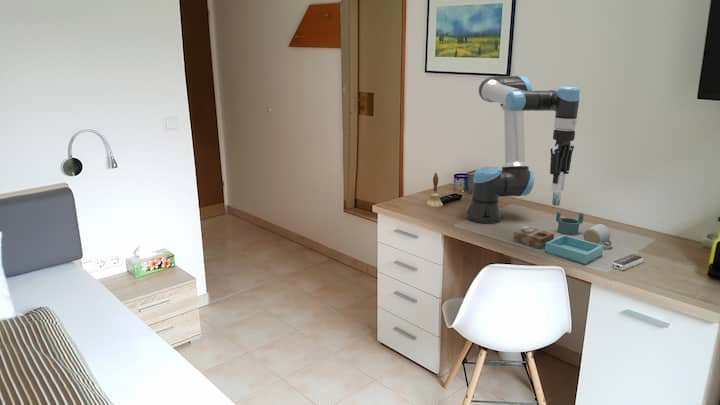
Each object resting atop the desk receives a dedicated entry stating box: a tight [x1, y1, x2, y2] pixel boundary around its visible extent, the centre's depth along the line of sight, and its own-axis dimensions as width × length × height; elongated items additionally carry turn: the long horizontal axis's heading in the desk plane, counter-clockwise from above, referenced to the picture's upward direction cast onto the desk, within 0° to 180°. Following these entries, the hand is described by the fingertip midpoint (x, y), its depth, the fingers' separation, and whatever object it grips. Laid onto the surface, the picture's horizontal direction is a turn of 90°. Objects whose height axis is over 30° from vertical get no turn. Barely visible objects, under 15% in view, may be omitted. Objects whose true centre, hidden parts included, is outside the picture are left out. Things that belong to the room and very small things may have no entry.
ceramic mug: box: [582, 223, 614, 250], centre depth 214 cm, size 11×8×8 cm
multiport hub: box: [610, 253, 644, 271], centre depth 196 cm, size 4×14×2 cm, turn 126°
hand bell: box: [425, 172, 444, 208], centre depth 263 cm, size 8×8×16 cm
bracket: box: [555, 211, 585, 236], centre depth 229 cm, size 9×9×9 cm
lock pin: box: [551, 171, 564, 207], centre depth 204 cm, size 3×3×13 cm
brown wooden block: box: [512, 225, 555, 250], centre depth 216 cm, size 12×10×5 cm
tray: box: [544, 234, 604, 266], centre depth 205 cm, size 16×14×4 cm
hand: (557, 190), depth 205 cm, fingers closed on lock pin, 3 cm apart
